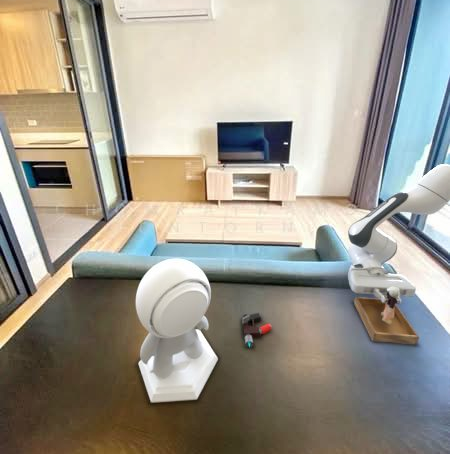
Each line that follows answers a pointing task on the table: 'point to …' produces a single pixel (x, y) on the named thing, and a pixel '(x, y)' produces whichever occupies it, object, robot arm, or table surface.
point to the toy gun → (253, 328)
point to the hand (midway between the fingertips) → (392, 302)
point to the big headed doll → (174, 331)
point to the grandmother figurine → (390, 304)
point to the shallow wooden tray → (380, 329)
